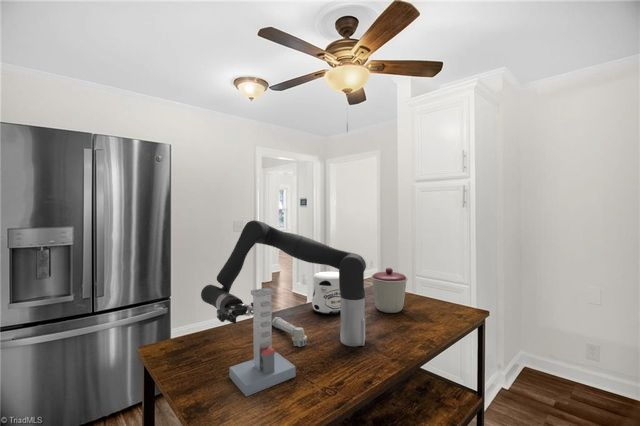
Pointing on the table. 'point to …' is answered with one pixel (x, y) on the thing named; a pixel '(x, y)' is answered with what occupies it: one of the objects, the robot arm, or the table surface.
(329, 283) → the milk container
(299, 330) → the toothbrush head
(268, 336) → the column
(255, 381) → the stand base
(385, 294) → the canister
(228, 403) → the table surface
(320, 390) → the table surface
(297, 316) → the table surface
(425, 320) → the table surface
